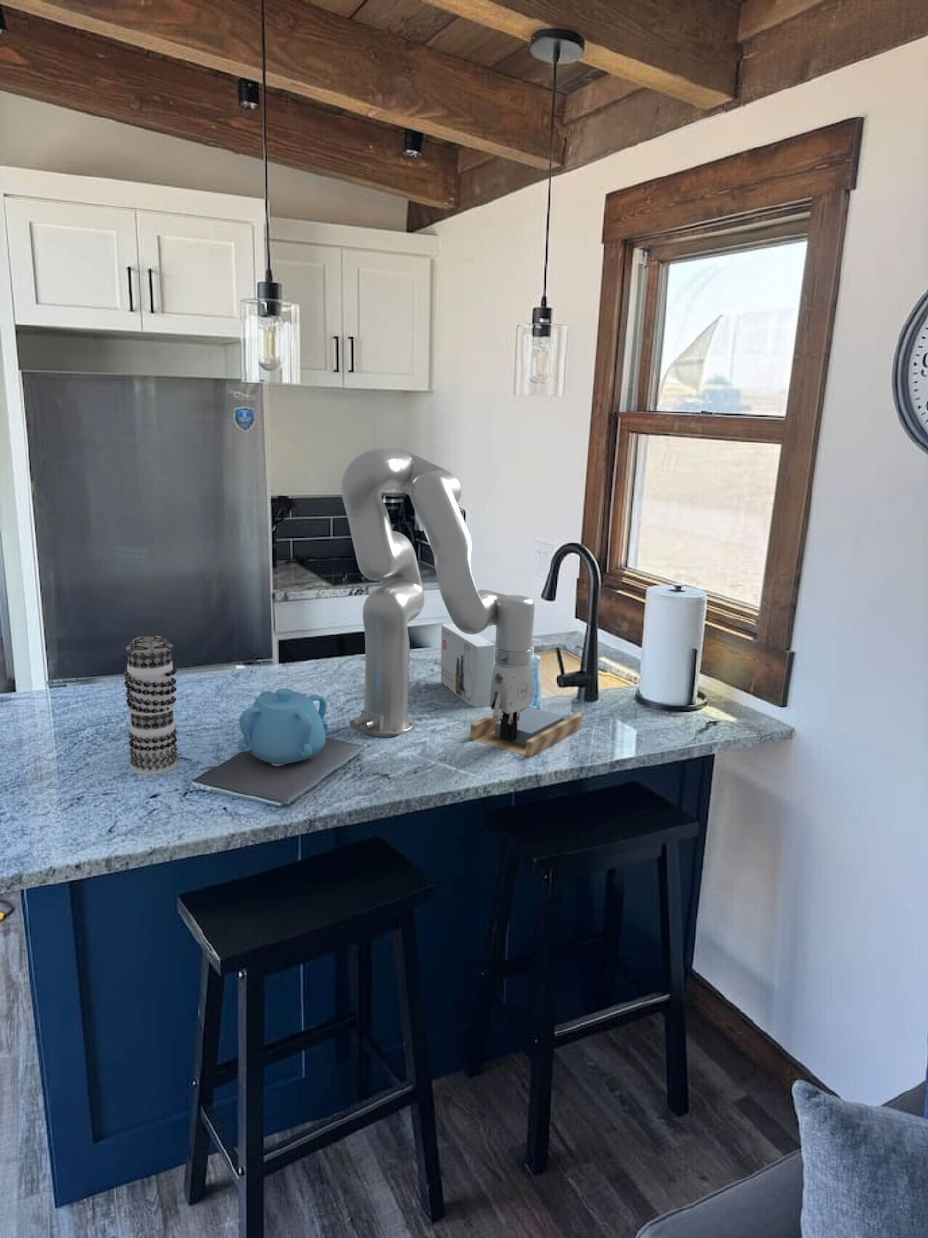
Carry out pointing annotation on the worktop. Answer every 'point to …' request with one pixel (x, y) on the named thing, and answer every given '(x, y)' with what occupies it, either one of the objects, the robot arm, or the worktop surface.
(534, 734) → the slate cover plate
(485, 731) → the wooden tray
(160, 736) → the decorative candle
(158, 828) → the worktop surface
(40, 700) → the worktop surface
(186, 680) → the worktop surface
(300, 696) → the decorative pot
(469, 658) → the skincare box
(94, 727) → the worktop surface
